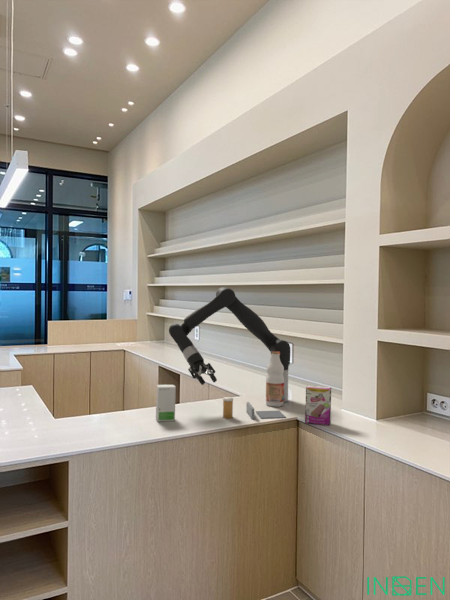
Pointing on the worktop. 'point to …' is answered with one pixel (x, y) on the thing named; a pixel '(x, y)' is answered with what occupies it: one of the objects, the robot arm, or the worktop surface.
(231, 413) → the amber medicine bottle
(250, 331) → the robot arm
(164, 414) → the skincare box
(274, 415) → the dark slate mat
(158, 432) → the worktop surface
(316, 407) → the candy bar box
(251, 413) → the smoky grey acrylic wall
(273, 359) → the fruit juice
